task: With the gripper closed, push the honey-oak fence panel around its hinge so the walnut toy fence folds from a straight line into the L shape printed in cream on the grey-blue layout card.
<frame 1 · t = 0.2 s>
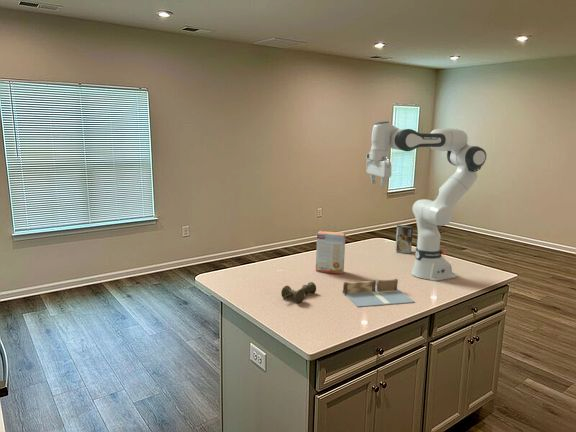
hand: (377, 185, 211), 47 cm above the worktop, tool pointing down, fingers open, 8 cm apart
folding fence panel: (359, 286, 199), point 3 cm above the worktop, hinge at 0.0°
layout card: (377, 296, 196), on the worktop
coffee box: (402, 252, 270), on the worktop
cracker box: (329, 271, 230), on the worktop
kendama: (298, 298, 193), on the worktop
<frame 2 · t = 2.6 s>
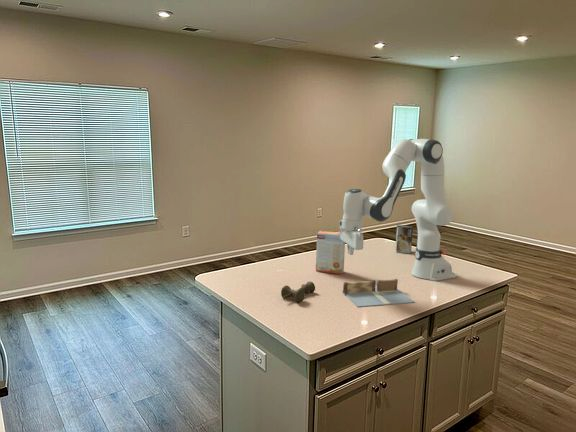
hand: (350, 254, 202), 17 cm above the worktop, tool pointing down, fingers closed
nothing on the worktop moved.
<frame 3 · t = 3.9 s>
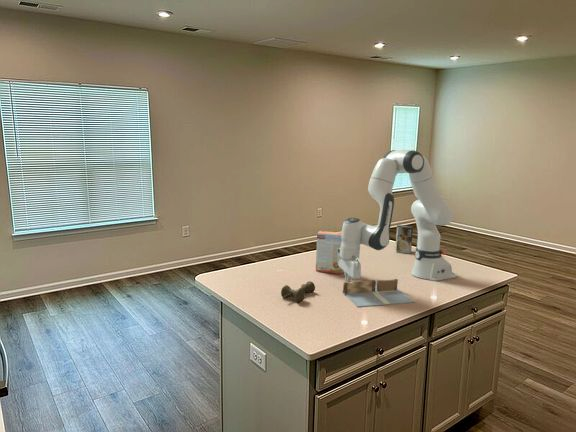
hand: (347, 281, 204), 4 cm above the worktop, tool pointing down, fingers closed
nothing on the worktop moved.
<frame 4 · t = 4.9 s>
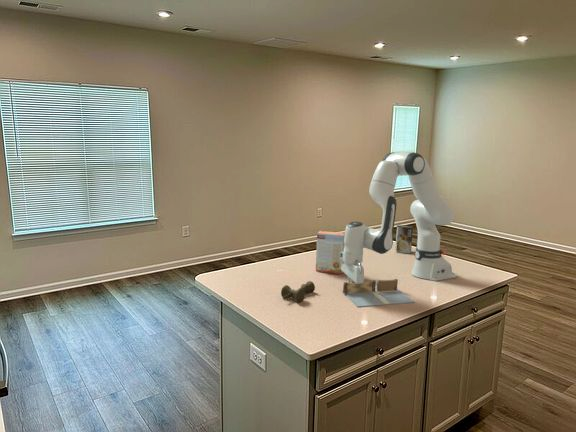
hand: (351, 286, 201), 3 cm above the worktop, tool pointing down, fingers closed
folding fence panel: (359, 286, 199), point 3 cm above the worktop, hinge at 0.0°, touching gripper
everything else where it was.
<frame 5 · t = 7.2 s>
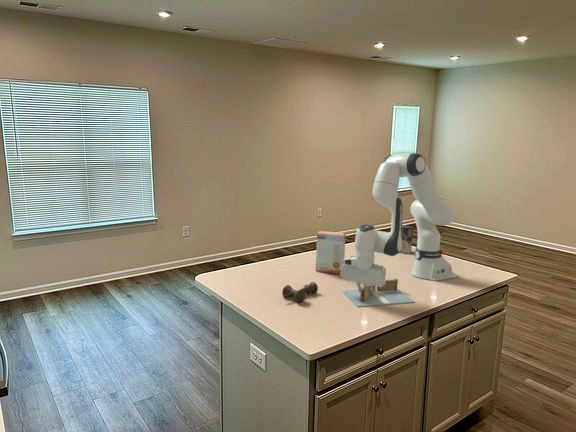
hand: (361, 291, 194), 3 cm above the worktop, tool pointing down, fingers closed
folding fence panel: (368, 290, 195), point 3 cm above the worktop, hinge at 45.0°, touching gripper
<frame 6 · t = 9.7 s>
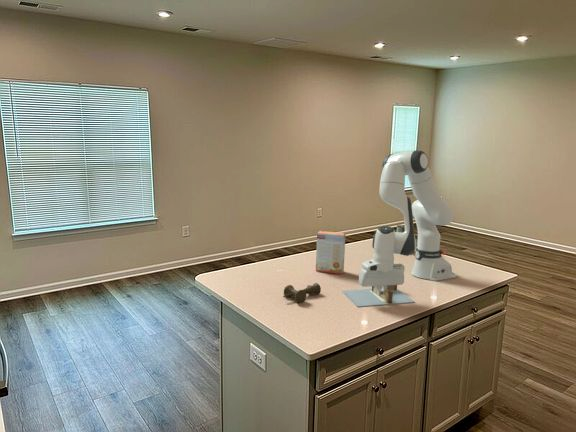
hand: (380, 294, 191), 3 cm above the worktop, tool pointing down, fingers closed
folding fence panel: (381, 291, 195), point 3 cm above the worktop, hinge at 95.0°, touching gripper
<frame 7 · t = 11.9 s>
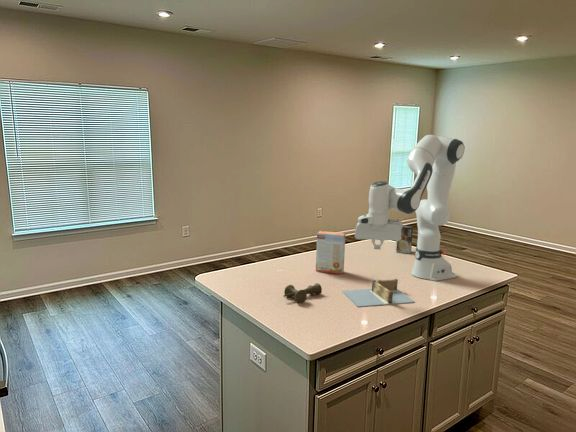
hand: (377, 249, 195), 22 cm above the worktop, tool pointing down, fingers closed
folding fence panel: (381, 291, 195), point 3 cm above the worktop, hinge at 95.1°
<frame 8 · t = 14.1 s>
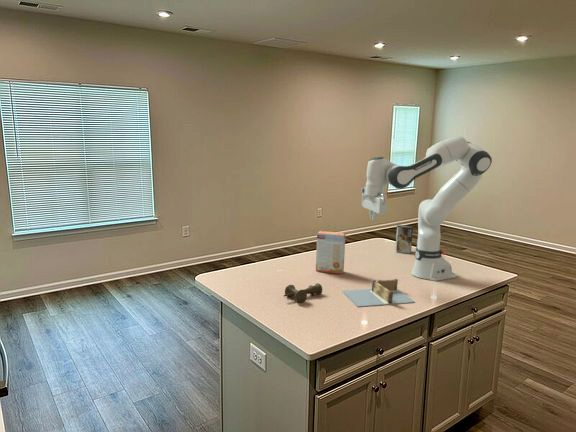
hand: (372, 220, 210), 31 cm above the worktop, tool pointing down, fingers closed
at the end: folding fence panel at +95° (first picture: +0°); cracker box moved 0.2 cm from its start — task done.
